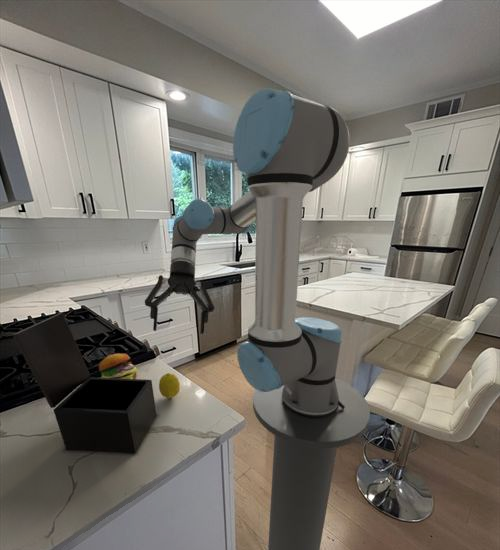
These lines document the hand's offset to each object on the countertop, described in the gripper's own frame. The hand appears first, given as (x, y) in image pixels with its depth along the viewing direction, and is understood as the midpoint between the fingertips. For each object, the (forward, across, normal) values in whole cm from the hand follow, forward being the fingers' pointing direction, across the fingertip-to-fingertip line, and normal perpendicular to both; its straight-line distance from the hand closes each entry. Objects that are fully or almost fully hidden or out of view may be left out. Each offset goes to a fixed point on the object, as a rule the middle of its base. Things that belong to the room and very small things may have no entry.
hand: (179, 331), depth 82 cm
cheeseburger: (+14, +17, -14) cm, 26 cm away
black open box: (+27, +14, +6) cm, 31 cm away
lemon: (+19, +1, -2) cm, 19 cm away
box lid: (+11, +25, +14) cm, 31 cm away
